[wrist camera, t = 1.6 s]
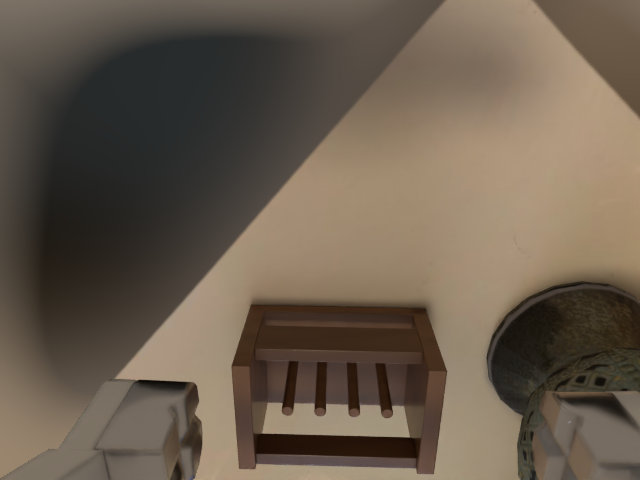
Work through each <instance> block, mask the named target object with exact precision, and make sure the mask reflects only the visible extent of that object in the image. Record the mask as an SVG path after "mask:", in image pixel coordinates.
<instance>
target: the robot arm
mask: <svg viewBox="0 0 640 480" xmlns="http://www.w3.org/2000/svg"><path fill="white" fill-rule="evenodd" d="M198 403H199V397H198V390H197V386H196V384H195V383H194V382H176V381H155V380H138V381H137V380H124V379H110V380H108V381H106V382H104V383H103V384H102V386H101V387H100V389H99V390H98V392H97V393H96V394H95V396H94V398H93V399H92V400H91V402H90V403H89V405H88V406H87V408H86V409H85V411H84V412H83V413H82V415H81V416H80V418H79V419H78V421H77V422H76V424H75V425H74V427H73V428H72V430H71V431H70V432H69V434H68V435H67V437H66V438H65V440H64V441H63V443H62V444H61V446H60V447H59V449H48V450H46V451H45V452H43V453H41V454H40V455H38V456H37V457H35V458H33V459H31V460H30V461H28V462H27V463H25V464H23V465H22V466H20V467H18V468H17V469H15V470H13V471H12V472H10V473H9V474H7V475H5V476H4V477H2V478H0V480H193V479H194V478H195V476H196V473H197V469H198V466H199V462H200V456H201V450H202V423H201V420H200V419H199V418H198V417H197V416H196V415H195V411H196V408H197V405H198ZM539 410H540V412H541V414H542V416H543V418H544V420H545V421H544V422H543V423H541V424H540V425H539V426H538V427H537V428H536V429H535V430H534V435H533V441H532V456H533V464H534V467H535V471H536V474H537V477H538V479H539V480H640V393H639V392H637V391H606V392H581V391H546V392H545V394H544V395H543V397H542V399H541V403H540V407H539Z"/></svg>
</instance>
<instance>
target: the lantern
mask: <svg viewBox="0 0 640 480" xmlns="http://www.w3.org/2000/svg"><path fill="white" fill-rule="evenodd" d="M487 364H488V374H489V379H490V381H491V383H492V385H493V386H494V388H495V390H496V392H497V394H498V396H499V397H500V399H501V400H502V401H503V402H505V403H506V404H507V405H508V406H509V407H511V408H512V409H513V410H514V411H515V412H517V413H519V414H521V415H523V419H522V423H521V428H520V433H519V438H518V443H517V448H518V475H519V477H520V479H521V480H539V479H538V477H537V474H536V471H535V467H534V464H533V456H532V441H533V435H534V430H535V429H536V428H537V427H538V426H539V425H540V424H541V423H543V422H544V421H545V420H544V418H543V416H542V414H541V412H540V410H539V407H540V403H541V399H542V397H543V395H544V394H545V392H546V391H581V392H606V391H637V392H639V393H640V302H639V301H638V300H637V299H636V298H635V297H634V296H633V295H631V294H629V293H627V292H625V291H622V290H620V289H618V288H616V287H613V286H611V285H609V284H600V283H590V282H577V283H571V284H565V285H559V286H554V287H551V288H549V289H547V290H545V291H543V292H540V293H538V294H536V295H534V296H531V297H529V298H527V299H526V300H525V301H524V302H522V303H521V304H520V305H519V306H518V307H516V308H515V309H514V310H513V311H511V312H510V313H509V314H508V315H507V316H506V317H505V319H504V320H503V321H502V323H501V324H500V326H499V327H498V329H497V330H496V332H495V333H494V335H493V336H492V340H491V344H490V347H489V351H488V354H487Z"/></svg>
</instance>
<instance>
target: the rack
mask: <svg viewBox="0 0 640 480" xmlns="http://www.w3.org/2000/svg"><path fill="white" fill-rule="evenodd" d="M446 376H447V370H446V367H445V364H444V361H443V358H442V355H441V352H440V349H439V346H438V344H437V341H436V338H435V335H434V332H433V329H432V326H431V323H430V320H429V317H428V314H427V311H426V309H419V308H370V307H322V306H274V305H251V307H250V310H249V313H248V316H247V319H246V322H245V326H244V329H243V332H242V335H241V338H240V341H239V344H238V348H237V351H236V354H235V357H234V360H233V363H232V380H233V393H234V407H235V420H236V434H237V447H238V461H239V469H255V468H256V463H257V464H276V465H312V466H347V467H383V468H416V470H417V474H434V468H435V460H436V453H437V445H438V438H439V430H440V422H441V415H442V407H443V399H444V392H445V384H446ZM268 402H269V403H283V406H282V413H283V414H284V415H287V416H288V415H291V414H292V413H293V409H294V403H308V404H315V411H314V412H315V414H316V415H317V416H324V415H325V413H326V404H348V409H349V415H350V416H351V417H357V416H359V414H360V405H380V406H381V414H382V416H383V417H384V418H390V417H391V416H392V415H393V411H392V406H404V408H405V413H406V418H407V423H408V428H409V434H410V438H406V437H368V436H331V435H294V434H262V430H263V425H264V420H265V414H266V409H267V403H268Z"/></svg>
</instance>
